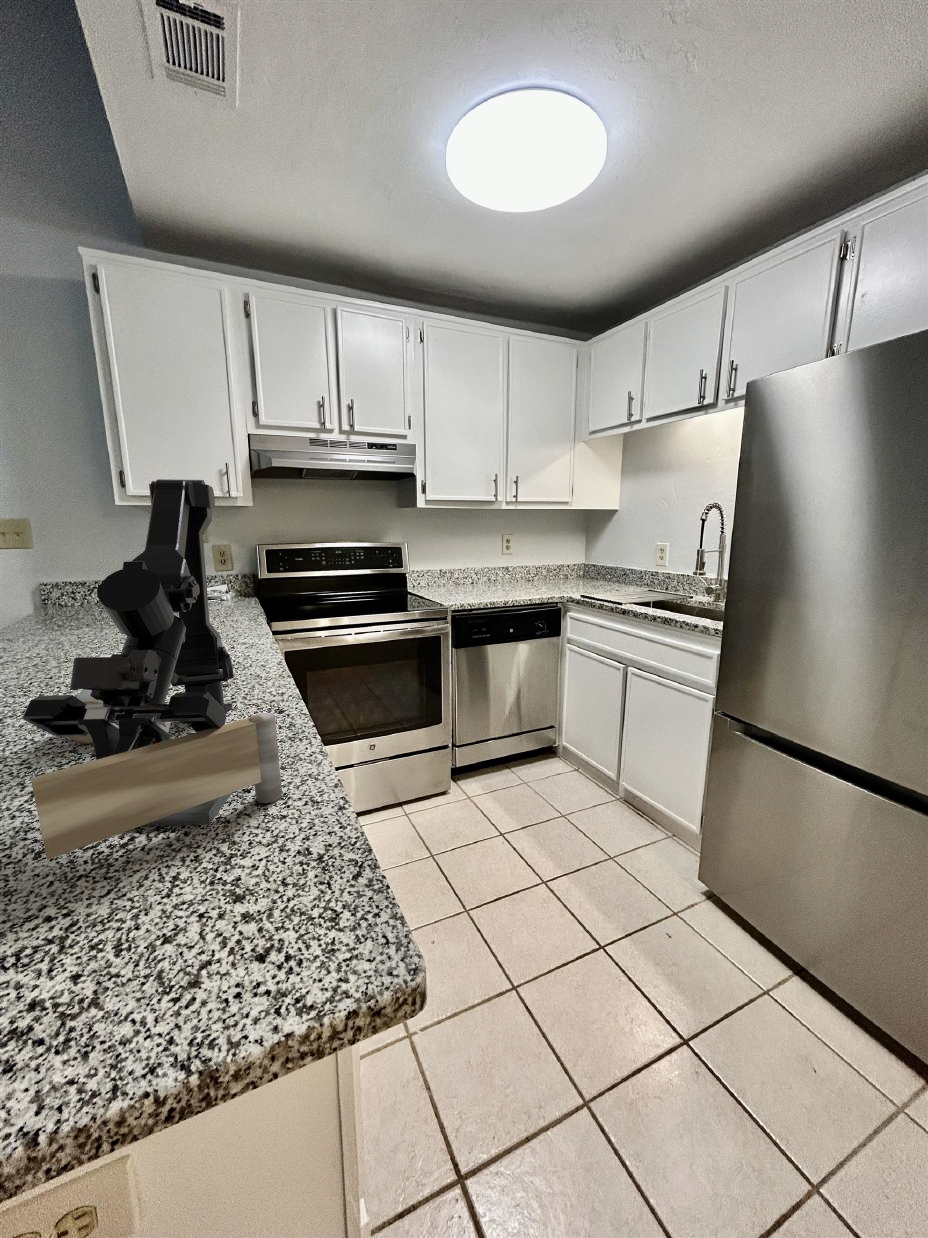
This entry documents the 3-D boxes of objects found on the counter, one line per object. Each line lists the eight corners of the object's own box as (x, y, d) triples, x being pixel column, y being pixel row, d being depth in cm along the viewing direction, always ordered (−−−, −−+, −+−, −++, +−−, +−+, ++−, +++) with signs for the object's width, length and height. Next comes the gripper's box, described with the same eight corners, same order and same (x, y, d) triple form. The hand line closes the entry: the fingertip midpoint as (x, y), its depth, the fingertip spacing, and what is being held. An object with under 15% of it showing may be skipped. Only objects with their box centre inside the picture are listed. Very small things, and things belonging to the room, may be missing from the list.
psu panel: (126, 774, 68) (124, 760, 68) (248, 770, 69) (246, 757, 68) (62, 829, 56) (59, 813, 56) (209, 824, 57) (207, 808, 57)
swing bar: (49, 872, 49) (30, 776, 47) (275, 787, 64) (268, 710, 62) (53, 889, 47) (32, 788, 45) (286, 796, 62) (279, 718, 60)
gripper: (18, 623, 52) (-59, 775, 44) (203, 620, 53) (162, 769, 45) (82, 671, 62) (29, 804, 54) (239, 668, 63) (210, 798, 55)
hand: (104, 794), depth 51 cm, fingers closed
